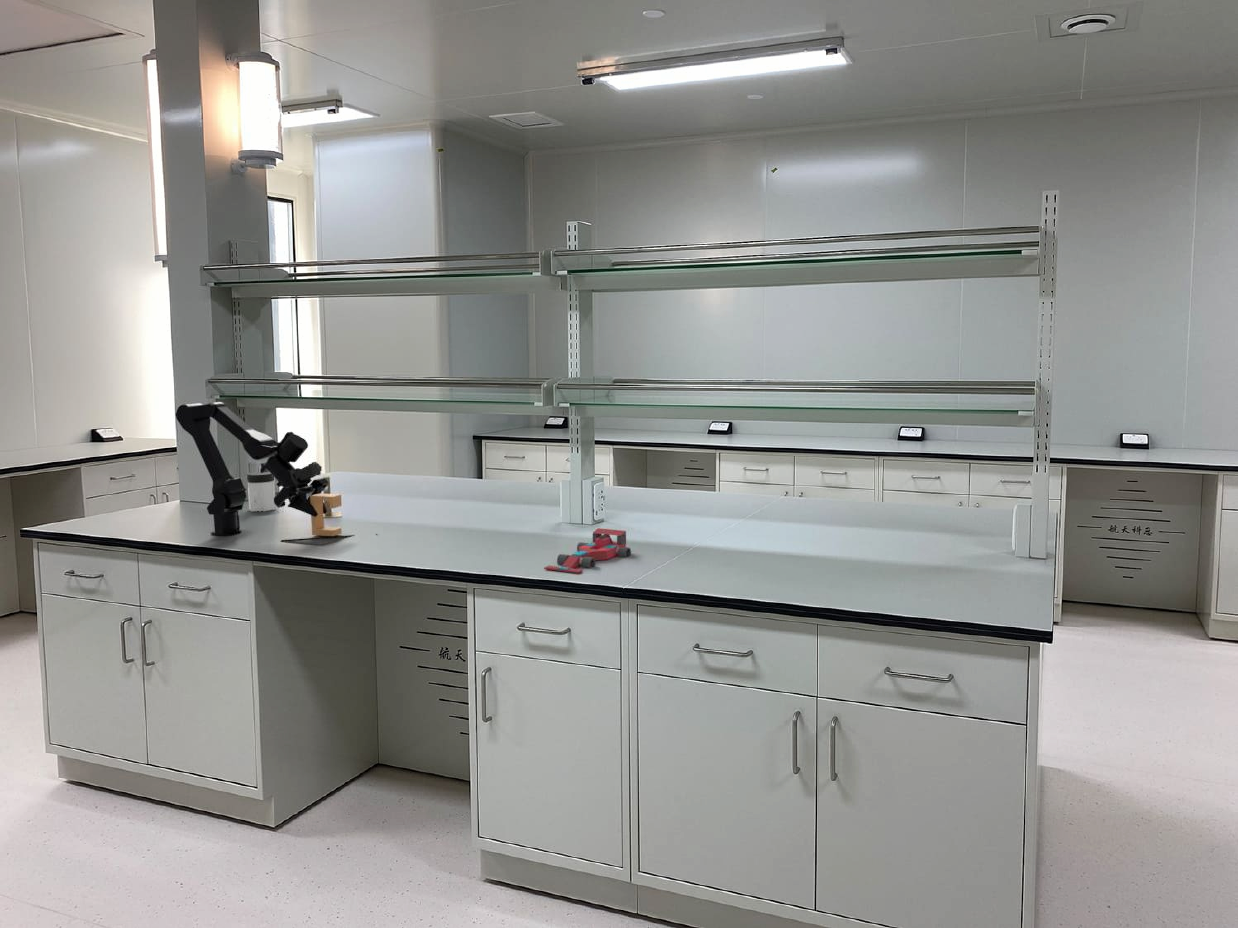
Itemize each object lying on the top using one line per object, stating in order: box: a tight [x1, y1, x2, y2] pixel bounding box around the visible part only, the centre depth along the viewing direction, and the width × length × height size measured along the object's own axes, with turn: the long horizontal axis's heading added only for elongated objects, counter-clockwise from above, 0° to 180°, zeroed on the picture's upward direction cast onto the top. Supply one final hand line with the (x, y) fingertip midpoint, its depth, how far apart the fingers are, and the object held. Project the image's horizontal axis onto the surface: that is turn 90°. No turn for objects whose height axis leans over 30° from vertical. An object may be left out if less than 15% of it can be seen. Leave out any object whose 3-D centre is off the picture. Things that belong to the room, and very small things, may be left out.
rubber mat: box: [280, 534, 355, 546], centre depth 271 cm, size 14×14×1 cm
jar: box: [246, 471, 277, 513], centre depth 317 cm, size 9×8×12 cm
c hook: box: [310, 493, 342, 537], centre depth 269 cm, size 7×4×11 cm, turn 73°
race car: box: [543, 528, 632, 574], centre depth 240 cm, size 14×6×25 cm
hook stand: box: [322, 476, 343, 519], centre depth 294 cm, size 8×20×13 cm, turn 16°
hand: (321, 514), depth 270 cm, fingers closed on c hook, 4 cm apart
